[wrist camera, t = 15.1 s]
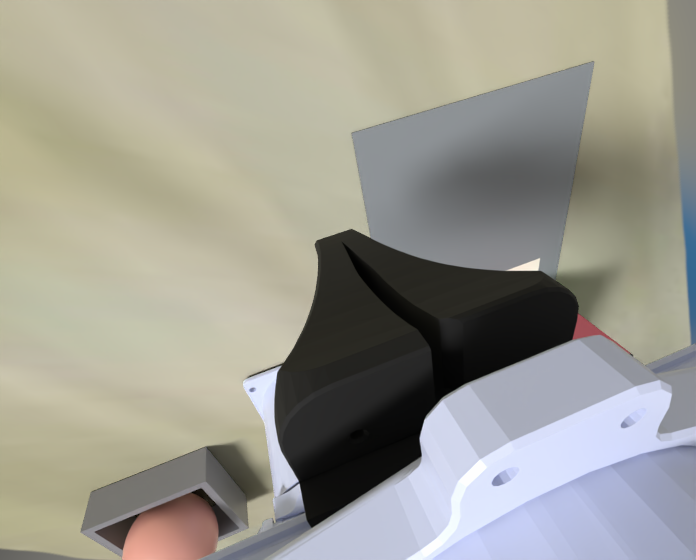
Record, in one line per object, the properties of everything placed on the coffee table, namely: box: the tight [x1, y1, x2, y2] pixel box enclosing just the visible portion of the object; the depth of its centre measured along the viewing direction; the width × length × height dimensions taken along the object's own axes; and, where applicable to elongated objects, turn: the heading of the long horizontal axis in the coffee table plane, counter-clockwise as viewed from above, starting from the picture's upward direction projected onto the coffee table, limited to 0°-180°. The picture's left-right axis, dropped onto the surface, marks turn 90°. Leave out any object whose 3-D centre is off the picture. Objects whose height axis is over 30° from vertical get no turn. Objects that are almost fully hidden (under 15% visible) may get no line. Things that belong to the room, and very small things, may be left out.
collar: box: [81, 447, 249, 557], centre depth 32 cm, size 9×9×3 cm
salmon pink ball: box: [122, 493, 219, 560], centre depth 30 cm, size 7×7×7 cm
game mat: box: [352, 61, 594, 280], centre depth 30 cm, size 28×16×1 cm, turn 12°
